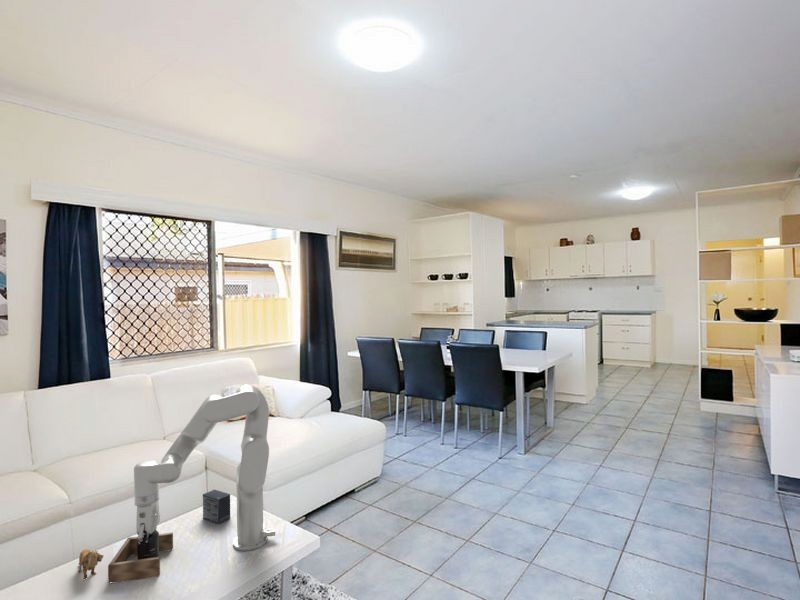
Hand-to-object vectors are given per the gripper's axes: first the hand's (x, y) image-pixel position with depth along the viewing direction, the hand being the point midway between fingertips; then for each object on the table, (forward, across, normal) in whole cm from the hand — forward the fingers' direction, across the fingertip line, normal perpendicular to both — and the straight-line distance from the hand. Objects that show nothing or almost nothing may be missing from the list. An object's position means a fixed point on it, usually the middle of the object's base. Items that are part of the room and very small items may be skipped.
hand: (148, 547), depth 157 cm
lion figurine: (+6, 0, +18) cm, 19 cm away
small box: (+6, +29, -18) cm, 35 cm away
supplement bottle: (+4, 0, 0) cm, 4 cm away
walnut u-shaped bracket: (+6, 0, +1) cm, 6 cm away
